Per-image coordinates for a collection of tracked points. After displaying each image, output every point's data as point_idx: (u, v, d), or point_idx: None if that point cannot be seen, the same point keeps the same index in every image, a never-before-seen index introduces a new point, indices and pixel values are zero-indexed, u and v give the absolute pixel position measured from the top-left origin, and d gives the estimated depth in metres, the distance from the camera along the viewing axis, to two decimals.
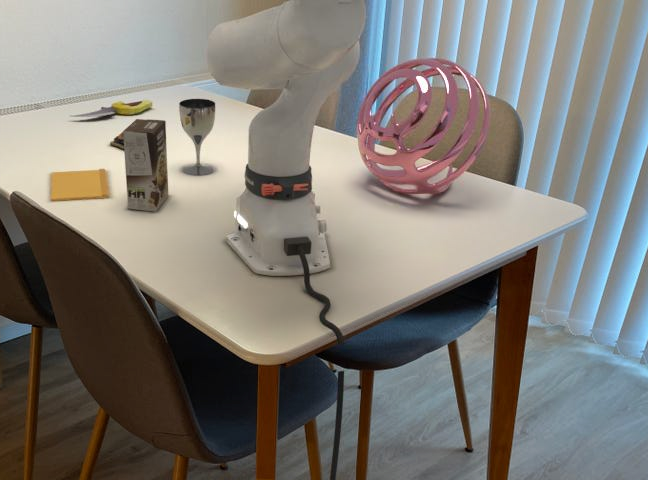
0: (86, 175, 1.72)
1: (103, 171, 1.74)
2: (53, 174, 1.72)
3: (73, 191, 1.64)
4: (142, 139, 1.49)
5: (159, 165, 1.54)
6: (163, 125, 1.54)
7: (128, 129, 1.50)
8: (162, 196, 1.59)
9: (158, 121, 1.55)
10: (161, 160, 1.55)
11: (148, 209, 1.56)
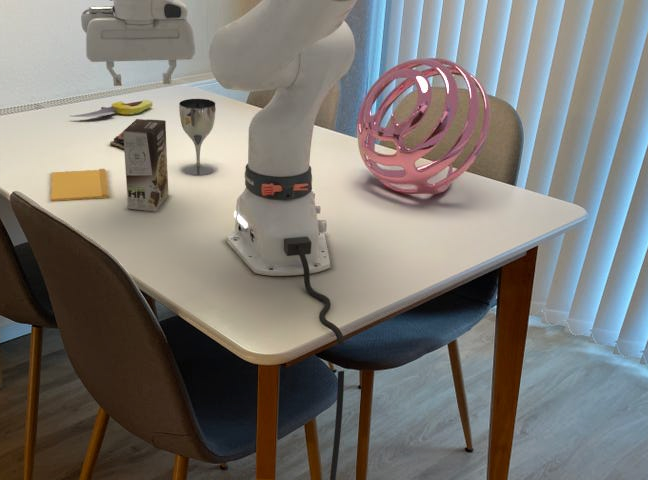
0: (86, 175, 1.72)
1: (103, 171, 1.74)
2: (53, 174, 1.72)
3: (73, 191, 1.64)
4: (142, 139, 1.49)
5: (159, 165, 1.54)
6: (163, 125, 1.54)
7: (128, 129, 1.50)
8: (162, 196, 1.59)
9: (158, 121, 1.55)
10: (161, 160, 1.55)
11: (148, 209, 1.56)
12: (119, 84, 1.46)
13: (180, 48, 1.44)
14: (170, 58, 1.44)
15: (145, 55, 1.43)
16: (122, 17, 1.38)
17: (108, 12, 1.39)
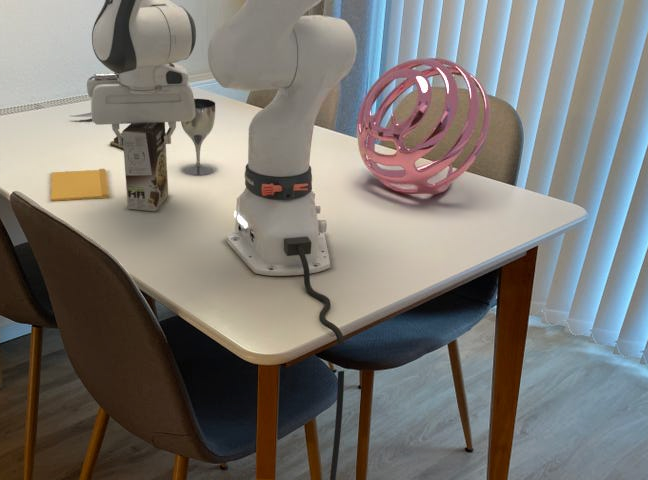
0: (86, 175, 1.72)
1: (103, 171, 1.74)
2: (53, 174, 1.72)
3: (73, 191, 1.64)
4: (141, 139, 1.49)
5: (159, 165, 1.54)
6: (162, 125, 1.54)
7: (127, 129, 1.50)
8: (162, 196, 1.59)
9: None
10: (160, 160, 1.55)
11: (148, 209, 1.56)
12: None
13: (181, 110, 1.50)
14: (172, 120, 1.51)
15: (148, 118, 1.50)
16: (126, 84, 1.44)
17: (112, 78, 1.46)
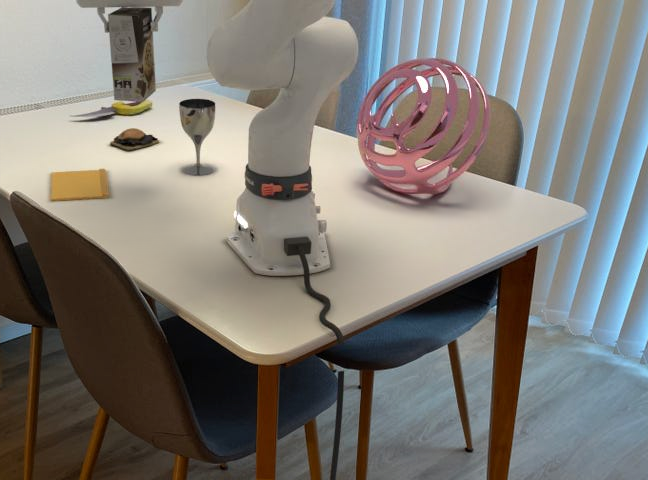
0: (86, 175, 1.72)
1: (103, 171, 1.74)
2: (53, 174, 1.72)
3: (73, 191, 1.64)
4: (127, 23, 1.46)
5: (146, 53, 1.51)
6: (149, 12, 1.50)
7: (113, 13, 1.47)
8: (149, 88, 1.56)
9: (143, 8, 1.51)
10: (147, 48, 1.51)
11: (135, 100, 1.53)
12: None
13: None
14: (158, 4, 1.47)
15: (134, 1, 1.46)
16: None
17: None
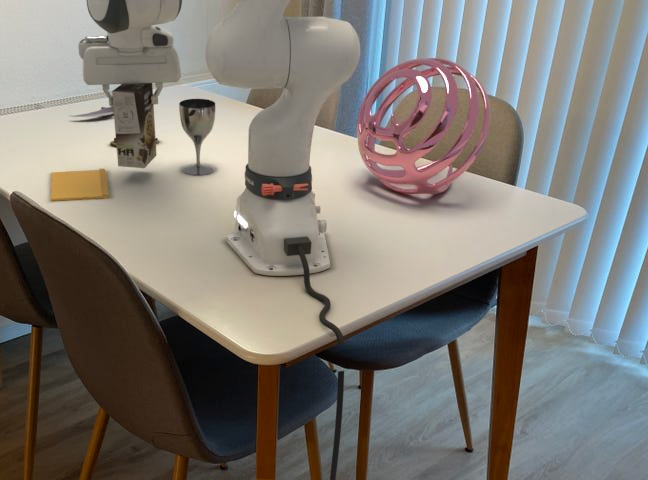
0: (86, 175, 1.72)
1: (103, 171, 1.74)
2: (53, 174, 1.72)
3: (73, 191, 1.64)
4: (130, 98, 1.59)
5: (147, 124, 1.64)
6: (150, 86, 1.64)
7: (117, 89, 1.60)
8: (150, 154, 1.69)
9: None
10: (148, 119, 1.65)
11: (137, 166, 1.66)
12: None
13: (167, 72, 1.60)
14: (158, 81, 1.61)
15: (136, 79, 1.59)
16: (115, 45, 1.54)
17: (102, 41, 1.56)
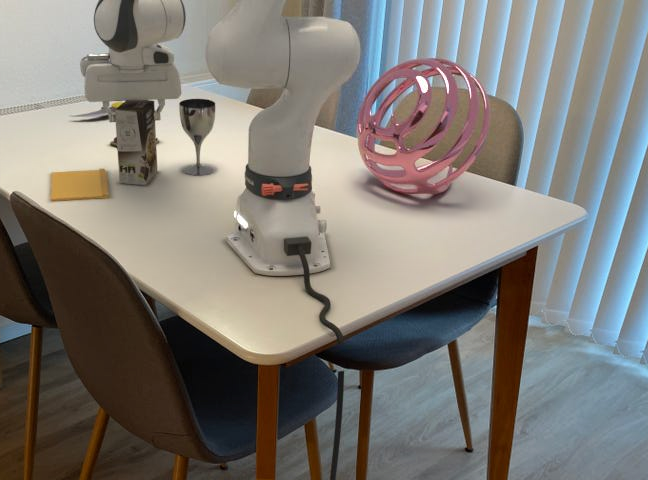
0: (86, 175, 1.72)
1: (103, 171, 1.74)
2: (53, 174, 1.72)
3: (73, 191, 1.64)
4: (132, 117, 1.61)
5: (148, 142, 1.66)
6: (152, 105, 1.66)
7: (119, 108, 1.62)
8: (151, 171, 1.71)
9: (147, 101, 1.67)
10: (150, 137, 1.67)
11: (138, 183, 1.69)
12: (114, 121, 1.64)
13: (168, 89, 1.62)
14: (159, 98, 1.62)
15: (137, 95, 1.61)
16: (116, 63, 1.56)
17: (104, 58, 1.57)
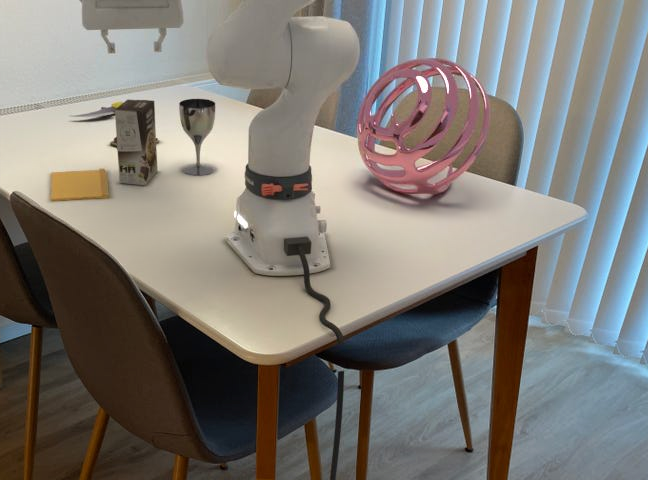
0: (86, 175, 1.72)
1: (103, 171, 1.74)
2: (53, 174, 1.72)
3: (73, 191, 1.64)
4: (132, 117, 1.61)
5: (149, 142, 1.66)
6: (152, 105, 1.66)
7: (119, 108, 1.62)
8: (151, 171, 1.71)
9: (147, 101, 1.67)
10: (150, 137, 1.67)
11: (138, 183, 1.69)
12: (113, 51, 1.56)
13: (170, 16, 1.54)
14: (160, 26, 1.55)
15: (137, 23, 1.54)
16: None
17: None
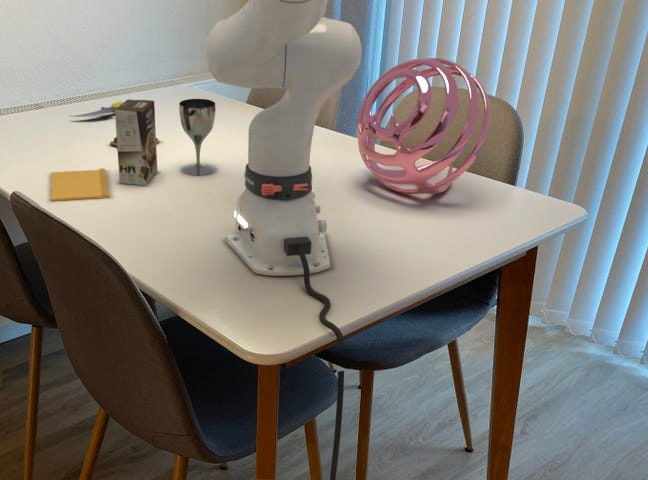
0: (86, 175, 1.72)
1: (103, 171, 1.74)
2: (53, 174, 1.72)
3: (73, 191, 1.64)
4: (132, 117, 1.61)
5: (149, 142, 1.66)
6: (152, 105, 1.66)
7: (119, 108, 1.62)
8: (151, 171, 1.71)
9: (147, 101, 1.67)
10: (150, 137, 1.67)
11: (138, 183, 1.69)
12: None
13: None
14: None
15: None
16: None
17: None
